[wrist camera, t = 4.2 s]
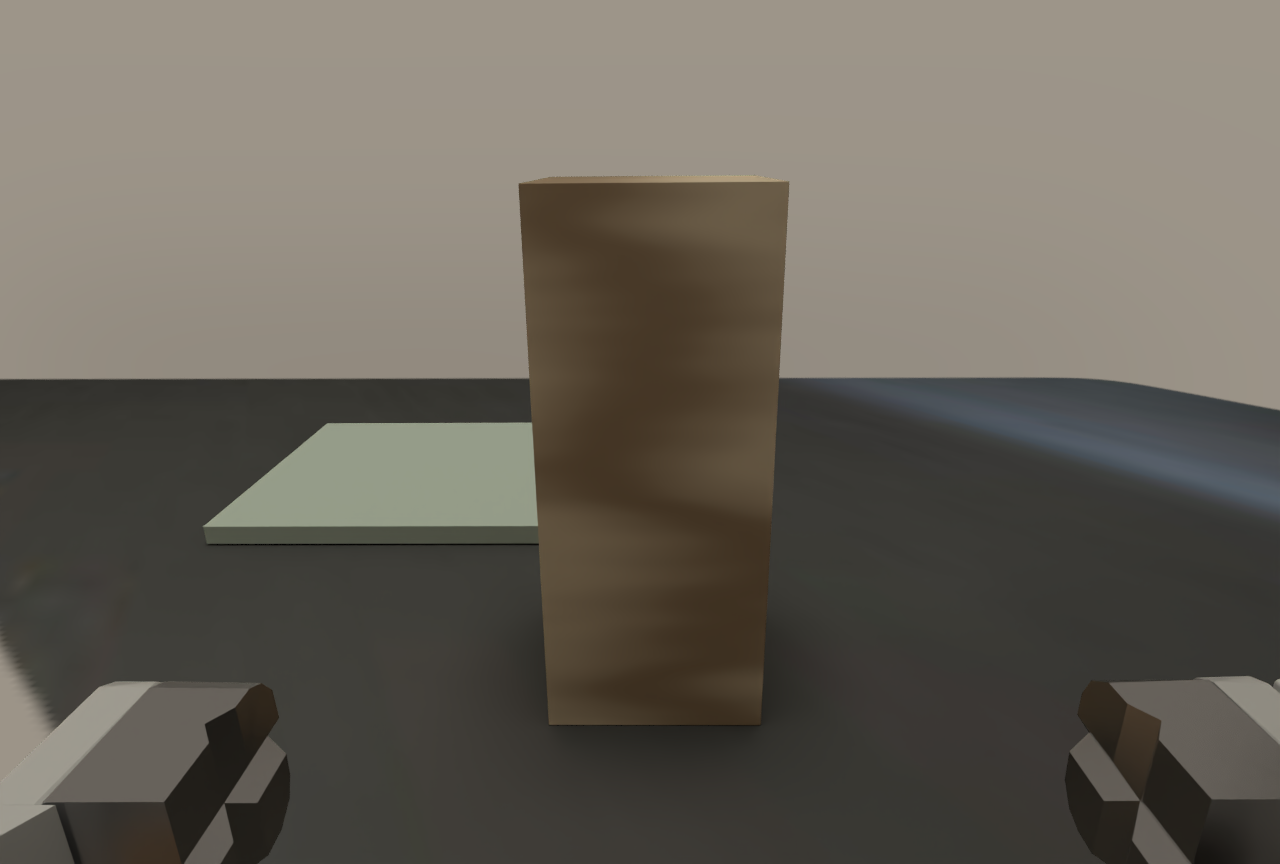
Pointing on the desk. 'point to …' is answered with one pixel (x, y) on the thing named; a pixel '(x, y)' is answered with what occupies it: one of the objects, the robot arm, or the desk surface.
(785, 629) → the desk surface
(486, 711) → the desk surface
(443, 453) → the mat
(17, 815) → the robot arm
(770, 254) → the oak block
